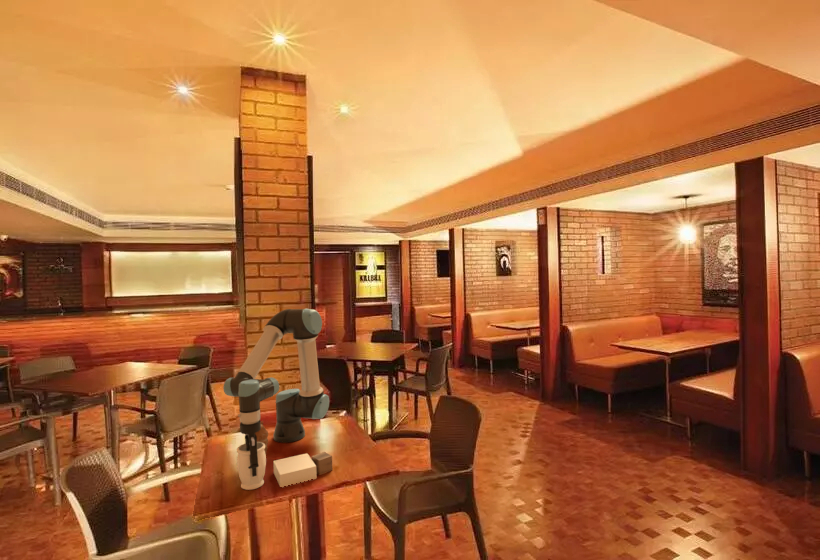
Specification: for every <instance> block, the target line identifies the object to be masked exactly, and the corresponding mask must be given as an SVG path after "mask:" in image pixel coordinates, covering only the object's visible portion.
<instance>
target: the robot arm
mask: <svg viewBox="0 0 820 560" xmlns="http://www.w3.org/2000/svg"><path fill="white" fill-rule="evenodd" d="M322 327H323V319H322V317H321V315H320V312H318V311H317V310H316V309H313V308H312V309H310V308H285V309H283V310H280V311H279V312H277V313H276V314H274V315H273V316H272V317H271V318H270V319H269V320H268V321H267V322H266V325H265V326H264V327H263V329H262V330H263V332H262V334H261V336H260V337H259V339H258V341H257V342H256V344H255V345H254V346H253V349H251V352H250V353H249V355H248V356H247V357H246V359H245V360H244V362H243V364H242V365H241V366H240V369H239V370H238V371H237V373H236V375H235V377H229V378H227V379H226V380H225V381H224V383H223V387H222V388H223V389H222V390H223V392H224V394H225V395H226V396H229V397H234V398H237V397H238V403H239V406H238V407H239V409H238V410H239V414H237V418H239V432H240V434H243V435H244V440H245V441H244V444H245V443H246V448H247V451H250V467H248V468H249V469H250V484H251V485H253V484H257V483H258V466H259V465H258V455H257V436H256V434H255V433H256V432H258V431H260V429H261V422H262V421H261V402H262V401H265V400H267V399H269V398H271V397H273V396H275V412H276V417H275V418H276V424H275V427H274V431H273V436H272V437H273V440H274V442H276V443H293V442H297V441H300V440H302V439H303V438H304V437H305V436H306V431H305V427H304V425H303V422H302V419H312V420H321V419H323V418H324V417H325V416H326V414H327V412H328V410H329V407H330V396H329V395H328V394H326V393H325V392H324V388H323V387H322V386H321V383H320V374H319V365H318V364H319V363H318V353H317V342H316V339H317V338H318V337H319V333H320V332H321V331H322ZM286 334H292V337H293V340H294V341H296V345H297V355H298V365H299V372H300V383H301V389H300V388H289V389H285V390H282V391H280V392H279V390H280V383H279V381H278V380H277V378H275V377H267V378H264V379H258V378H257V376H258V374H259V373H260V371H261V370H262V368H263V366H264V365H265V363H266V361H267V359H268V358H269V356H270V355H271V353H272V352H273V349H274V348H275V346H276V345H277V344H278V343H277V342H278V341H280V340H282V339H283V337H284V336H285V335H286Z"/></svg>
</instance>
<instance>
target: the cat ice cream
mask: <svg viewBox="0 0 820 560" xmlns="http://www.w3.org/2000/svg"><path fill="white" fill-rule="evenodd" d="M265 427H266V426H264V420H262V421H261V429H260V431H258V432H256V433H255V434H256V436H257V442H263V443H265V449H264V451H265V455H267V450H268V443H269V438H268V437H269V431H268V430H267V429H266V428H265Z"/></svg>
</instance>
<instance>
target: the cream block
mask: <svg viewBox="0 0 820 560" xmlns="http://www.w3.org/2000/svg"><path fill="white" fill-rule="evenodd" d="M273 474H274V477H275V478H276V480H277V483H278V485H279V487H282V488H285V487H284V486H286V487H289V486H288V485H290V486H292V485H291V484H293V485H297V484H301V483H305V482H308V480H309V481H312V480H311V479H313V480H316V479H317V478H318V477H317V475H318V474H317V473H316V465H315V464H314V462H313V461H312V457H311V456H310V455H309V454H308V453H307V452H306V453H302V454H297V455H294V456H289V457H285V458H280V459H276V460H273ZM304 481H305V482H304ZM300 482H301V483H300ZM296 483H297V484H296Z"/></svg>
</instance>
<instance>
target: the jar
mask: <svg viewBox="0 0 820 560" xmlns="http://www.w3.org/2000/svg"><path fill="white" fill-rule="evenodd" d="M264 449H265V443H263V442H257V455H258V465H259V466H258V483H257V484H253V485H251V484H250V469H249V468H248V467H250V451H247V448H246V443H245V442H244V443H243V444H241V445H238V447H237V448H236V453H237V456H236V457H237V459H236V465H237V473H238V476H239V479H240V482H241V484H240V488H241V489H243V490H247V491H248V490H249V491H251V490H255V489H258V488H260V487H262V486H263V485H264V483H265V480H264V476H265V473H266V466H267V458H266V457H267V456H266V455H267V454H266V455H265V451H264Z"/></svg>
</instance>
